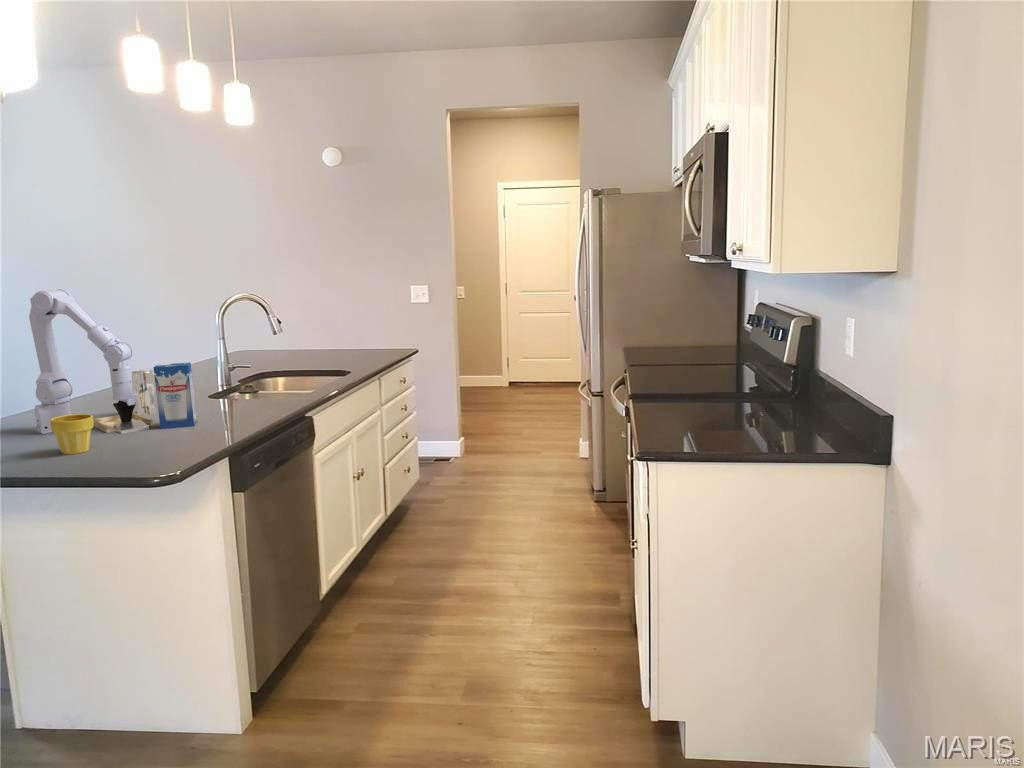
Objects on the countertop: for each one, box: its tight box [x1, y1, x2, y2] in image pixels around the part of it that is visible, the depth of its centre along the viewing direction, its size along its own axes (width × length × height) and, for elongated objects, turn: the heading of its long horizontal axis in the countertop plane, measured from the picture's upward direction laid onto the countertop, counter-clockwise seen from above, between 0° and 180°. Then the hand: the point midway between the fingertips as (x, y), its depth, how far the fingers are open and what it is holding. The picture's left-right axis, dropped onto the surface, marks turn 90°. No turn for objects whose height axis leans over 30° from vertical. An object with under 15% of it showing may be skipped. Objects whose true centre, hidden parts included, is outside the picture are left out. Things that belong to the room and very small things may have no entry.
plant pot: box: [50, 413, 95, 455], centre depth 210 cm, size 10×10×10 cm
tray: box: [93, 412, 154, 434], centre depth 240 cm, size 14×17×2 cm
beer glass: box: [131, 369, 157, 416], centre depth 257 cm, size 7×7×15 cm
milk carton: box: [153, 362, 198, 430], centre depth 235 cm, size 10×6×20 cm, turn 105°
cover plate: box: [114, 420, 150, 435], centre depth 233 cm, size 8×7×2 cm
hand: (126, 424), depth 237 cm, fingers closed
